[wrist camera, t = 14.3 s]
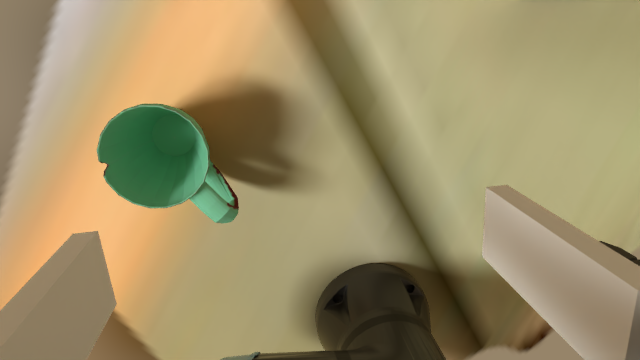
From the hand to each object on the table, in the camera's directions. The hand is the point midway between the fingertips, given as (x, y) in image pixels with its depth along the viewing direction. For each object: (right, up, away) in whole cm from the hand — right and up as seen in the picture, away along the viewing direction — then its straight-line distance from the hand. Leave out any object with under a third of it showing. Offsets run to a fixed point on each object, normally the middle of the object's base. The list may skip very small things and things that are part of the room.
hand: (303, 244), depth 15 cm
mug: (-14, +6, +35) cm, 39 cm away
